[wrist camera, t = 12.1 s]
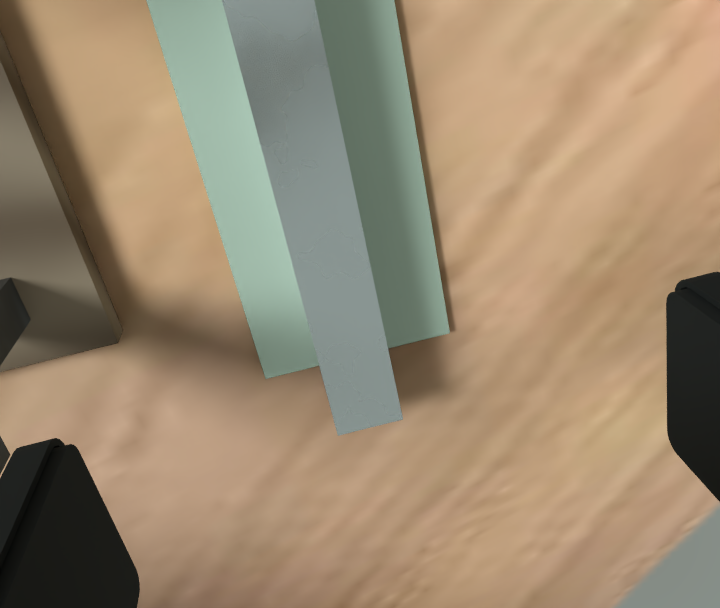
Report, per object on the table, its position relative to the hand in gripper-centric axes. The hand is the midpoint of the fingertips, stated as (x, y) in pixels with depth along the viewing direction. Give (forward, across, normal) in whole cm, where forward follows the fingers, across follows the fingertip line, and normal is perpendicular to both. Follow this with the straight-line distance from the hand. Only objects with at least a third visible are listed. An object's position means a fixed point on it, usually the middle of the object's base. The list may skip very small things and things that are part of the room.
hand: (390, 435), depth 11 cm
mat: (+20, 0, 0) cm, 20 cm away
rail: (+20, 0, 0) cm, 20 cm away
